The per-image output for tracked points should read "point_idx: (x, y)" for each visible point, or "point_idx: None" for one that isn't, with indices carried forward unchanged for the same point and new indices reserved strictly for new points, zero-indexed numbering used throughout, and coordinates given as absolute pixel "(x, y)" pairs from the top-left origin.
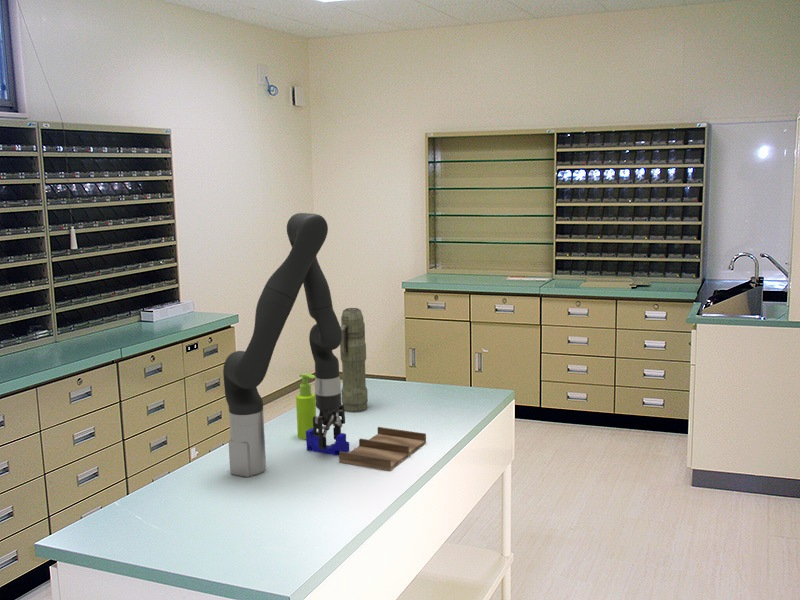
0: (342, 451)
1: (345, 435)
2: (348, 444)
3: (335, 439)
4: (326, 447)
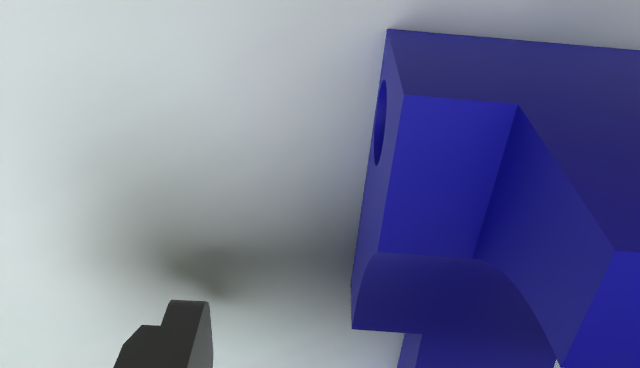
0: (626, 72)
1: (632, 224)
2: (425, 77)
3: (211, 351)
4: None
